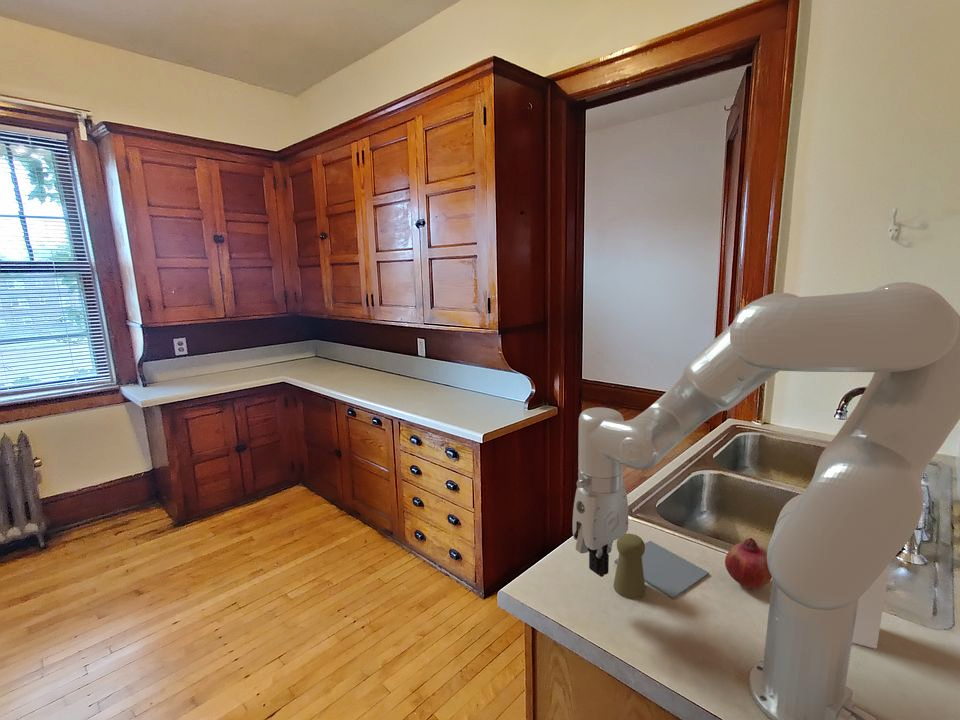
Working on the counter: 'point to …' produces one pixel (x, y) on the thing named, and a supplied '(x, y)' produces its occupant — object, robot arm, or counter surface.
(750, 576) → the fruit
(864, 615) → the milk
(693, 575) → the grey mat
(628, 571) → the olive brown rounded cylinder
